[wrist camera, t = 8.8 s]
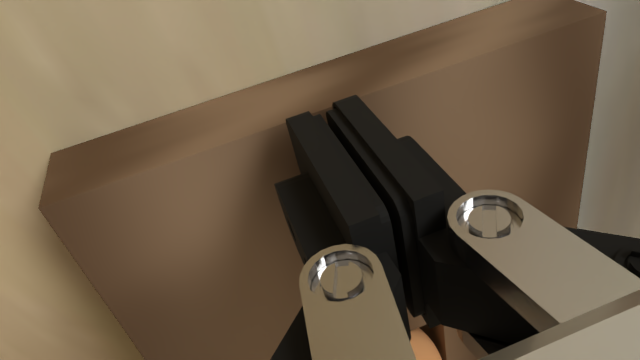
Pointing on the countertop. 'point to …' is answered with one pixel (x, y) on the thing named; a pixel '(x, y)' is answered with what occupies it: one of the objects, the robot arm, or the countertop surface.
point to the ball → (423, 346)
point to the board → (280, 164)
